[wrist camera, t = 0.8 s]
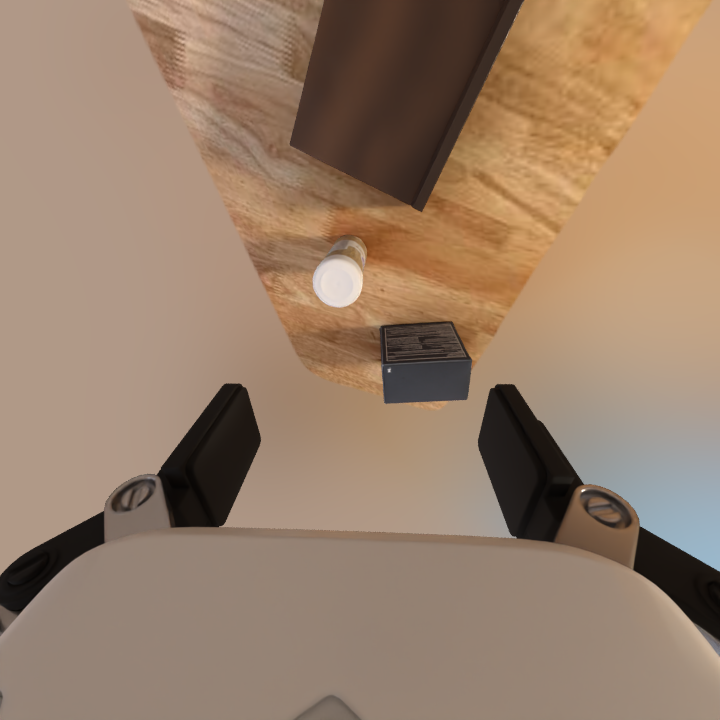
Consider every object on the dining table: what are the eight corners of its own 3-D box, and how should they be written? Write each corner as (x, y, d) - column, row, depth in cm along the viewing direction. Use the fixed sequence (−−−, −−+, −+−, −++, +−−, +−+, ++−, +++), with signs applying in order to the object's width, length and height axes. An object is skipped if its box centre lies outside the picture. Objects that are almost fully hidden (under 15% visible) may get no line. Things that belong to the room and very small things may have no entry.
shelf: (300, 149, 33) (282, 142, 26) (357, -68, 25) (349, -153, 18) (414, 205, 35) (421, 212, 29) (498, 24, 27) (535, -23, 21)
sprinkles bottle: (371, 264, 39) (368, 300, 27) (339, 275, 40) (323, 314, 28) (360, 228, 37) (351, 251, 25) (326, 240, 38) (303, 268, 26)
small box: (381, 362, 47) (382, 406, 38) (379, 325, 43) (379, 363, 34) (450, 359, 46) (468, 403, 37) (453, 320, 42) (473, 358, 33)
